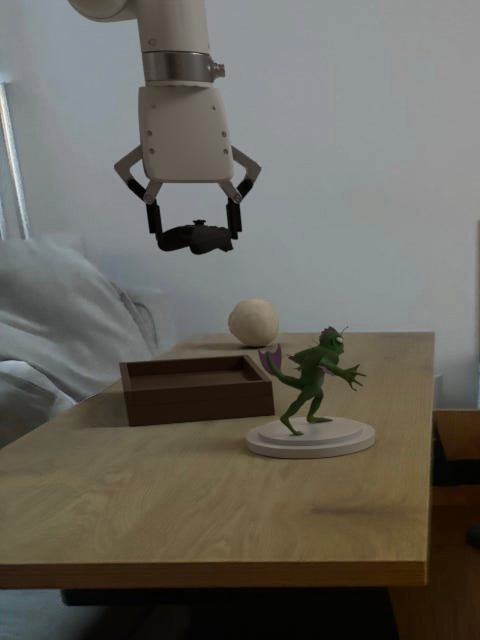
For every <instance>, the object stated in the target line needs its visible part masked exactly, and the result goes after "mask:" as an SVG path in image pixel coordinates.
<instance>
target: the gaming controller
mask: <svg viewBox="0 0 480 640" xmlns="http://www.w3.org/2000/svg"><path fill="white" fill-rule="evenodd" d="M192 223H193V224H184V225H178V226H175V227H172V228H169V229H167V230H165V231H163V238H164V240H162V241H157V240H156V243H157V244H156V245H157V247H158V249H159V250H160V251H162V252H166V253H167V252H174V251H178V250H181V249H186V248H189V251H190V252H191V254H193V255H194V256H201V255H206V254H208V253H210V252H212V251H214V250H220V251H221V252H224V253H228V252H229V251H233V250H234V246H233V242H232V239H231V238H232V232H231V231H230V230H229V229H228V227H225V226H218V225H207V224H205V223H207V220H206V219H198V218H197V220H196V219H195V220H194V219H193V220H192Z"/></svg>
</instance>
